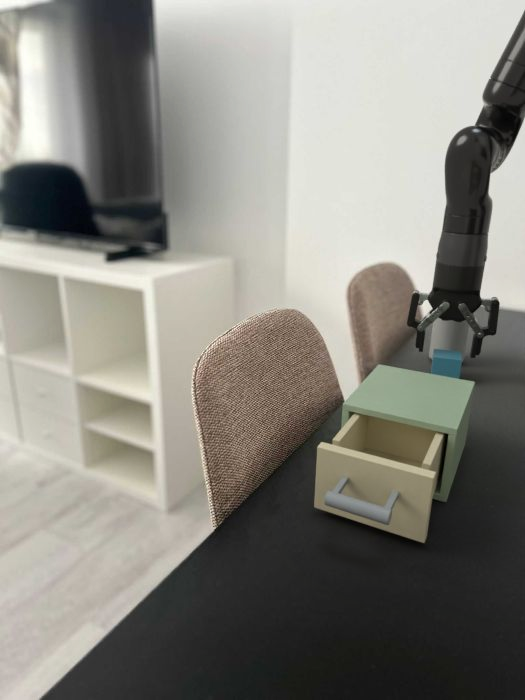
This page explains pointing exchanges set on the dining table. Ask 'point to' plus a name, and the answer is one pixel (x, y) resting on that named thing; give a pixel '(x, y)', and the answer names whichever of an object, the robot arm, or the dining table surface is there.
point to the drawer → (381, 474)
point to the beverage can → (449, 336)
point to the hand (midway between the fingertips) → (446, 353)
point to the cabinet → (418, 409)
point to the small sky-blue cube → (446, 363)
